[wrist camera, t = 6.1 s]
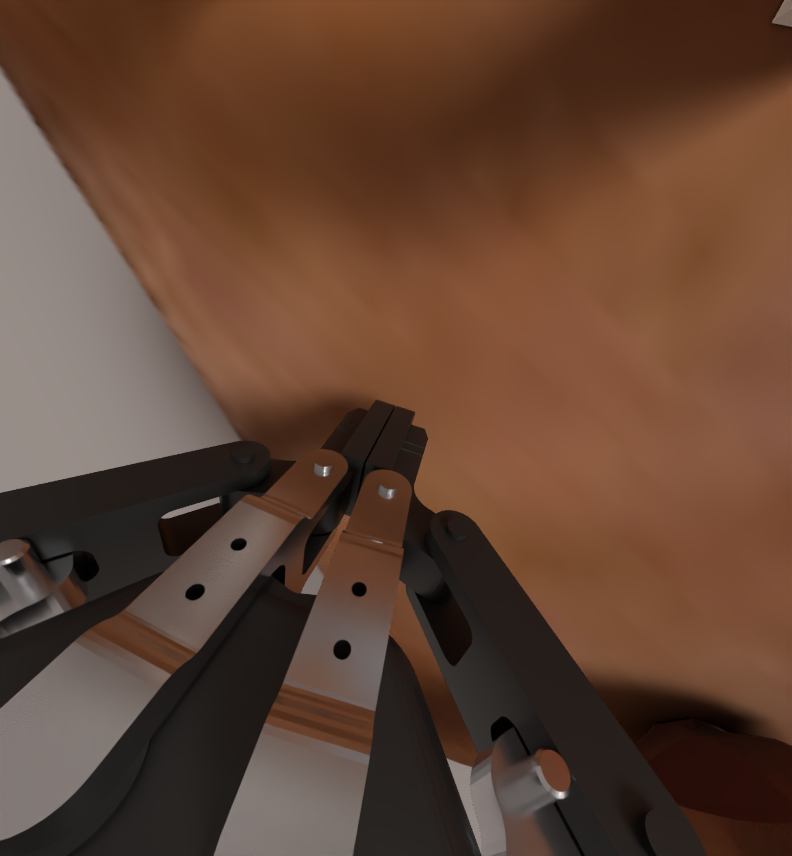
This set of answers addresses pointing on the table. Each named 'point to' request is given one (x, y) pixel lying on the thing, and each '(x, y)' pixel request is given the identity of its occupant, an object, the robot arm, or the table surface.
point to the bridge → (784, 14)
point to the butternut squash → (725, 785)
